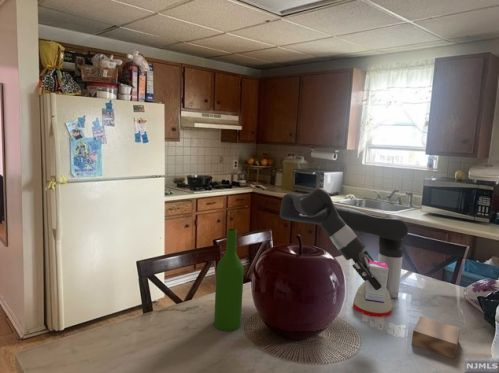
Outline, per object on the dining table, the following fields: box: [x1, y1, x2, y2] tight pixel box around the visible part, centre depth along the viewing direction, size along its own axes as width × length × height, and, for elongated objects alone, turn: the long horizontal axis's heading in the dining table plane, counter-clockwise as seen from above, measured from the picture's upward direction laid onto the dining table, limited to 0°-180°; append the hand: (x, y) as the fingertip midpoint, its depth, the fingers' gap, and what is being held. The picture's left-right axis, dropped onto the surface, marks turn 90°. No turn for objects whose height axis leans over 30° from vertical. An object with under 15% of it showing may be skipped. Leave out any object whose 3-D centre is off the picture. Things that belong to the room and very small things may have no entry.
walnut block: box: [411, 316, 461, 359], centre depth 118 cm, size 12×12×5 cm
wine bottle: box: [213, 228, 245, 332], centre depth 121 cm, size 9×9×32 cm
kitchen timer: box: [352, 280, 393, 318], centre depth 140 cm, size 14×14×15 cm
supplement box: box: [364, 260, 388, 303], centre depth 117 cm, size 6×6×12 cm
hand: (380, 284), depth 117 cm, fingers closed on supplement box, 7 cm apart
